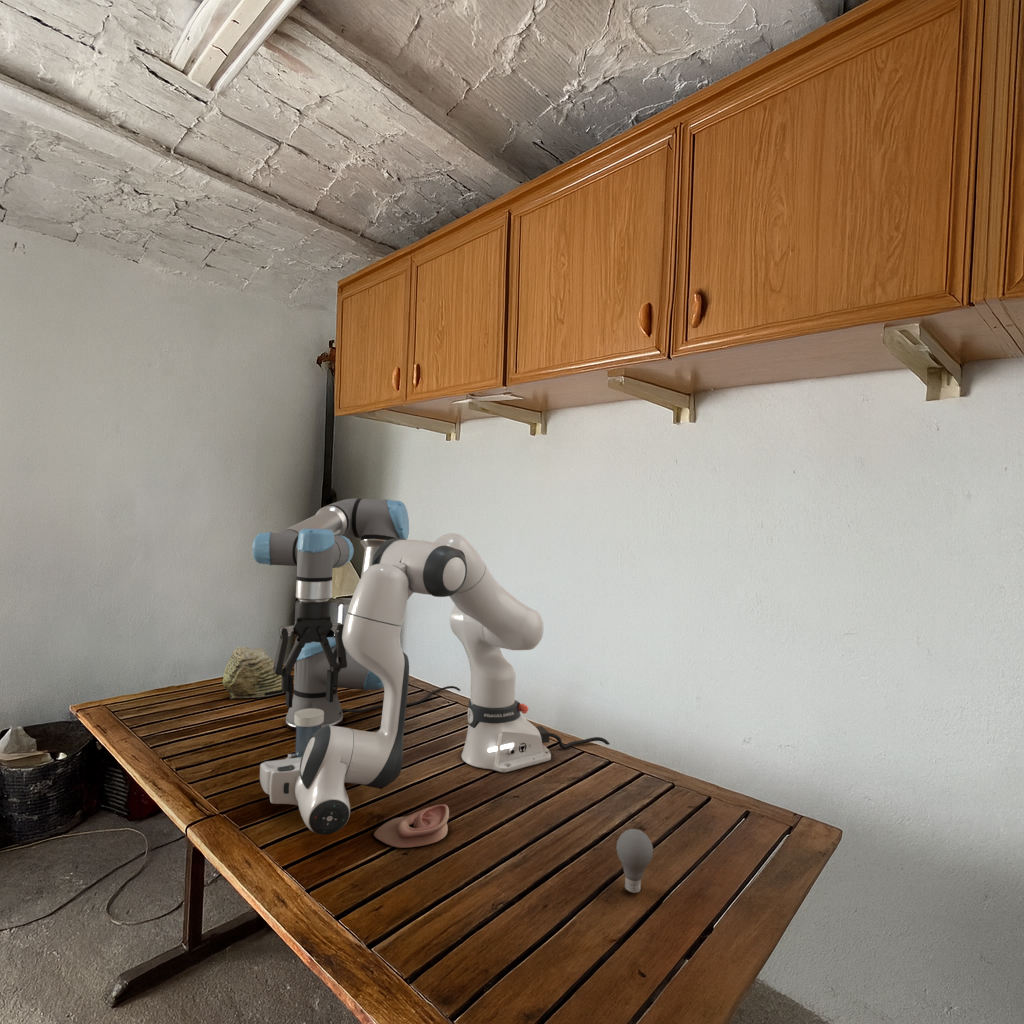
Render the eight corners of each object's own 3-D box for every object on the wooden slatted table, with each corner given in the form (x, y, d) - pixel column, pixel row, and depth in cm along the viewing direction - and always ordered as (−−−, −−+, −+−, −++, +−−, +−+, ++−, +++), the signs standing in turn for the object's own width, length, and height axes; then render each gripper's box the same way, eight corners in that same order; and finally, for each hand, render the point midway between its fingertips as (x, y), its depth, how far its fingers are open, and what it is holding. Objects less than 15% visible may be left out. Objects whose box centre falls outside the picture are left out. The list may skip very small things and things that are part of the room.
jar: (315, 777, 143) (318, 709, 142) (321, 787, 138) (324, 717, 138) (291, 782, 140) (294, 712, 140) (296, 792, 135) (299, 720, 135)
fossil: (218, 695, 195) (220, 647, 195) (278, 685, 208) (279, 640, 207) (228, 703, 189) (230, 653, 188) (289, 692, 201) (290, 645, 201)
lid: (319, 715, 143) (320, 706, 143) (326, 724, 138) (327, 715, 138) (291, 719, 140) (291, 710, 140) (297, 728, 135) (297, 719, 135)
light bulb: (610, 879, 108) (613, 822, 108) (644, 879, 109) (647, 822, 109) (619, 902, 102) (622, 840, 102) (655, 901, 103) (658, 840, 103)
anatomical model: (367, 821, 116) (391, 793, 128) (366, 843, 116) (391, 813, 128) (436, 832, 114) (455, 803, 125) (435, 854, 114) (454, 822, 125)
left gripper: (354, 595, 147) (350, 692, 147) (259, 598, 136) (255, 704, 136) (365, 599, 141) (361, 701, 141) (267, 604, 129) (262, 715, 130)
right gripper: (368, 758, 132) (355, 735, 144) (263, 773, 123) (258, 746, 135) (367, 788, 132) (353, 762, 144) (262, 805, 123) (257, 775, 135)
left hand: (309, 702), depth 139 cm, fingers open, 8 cm apart
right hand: (306, 755), depth 140 cm, fingers closed on jar, 5 cm apart
